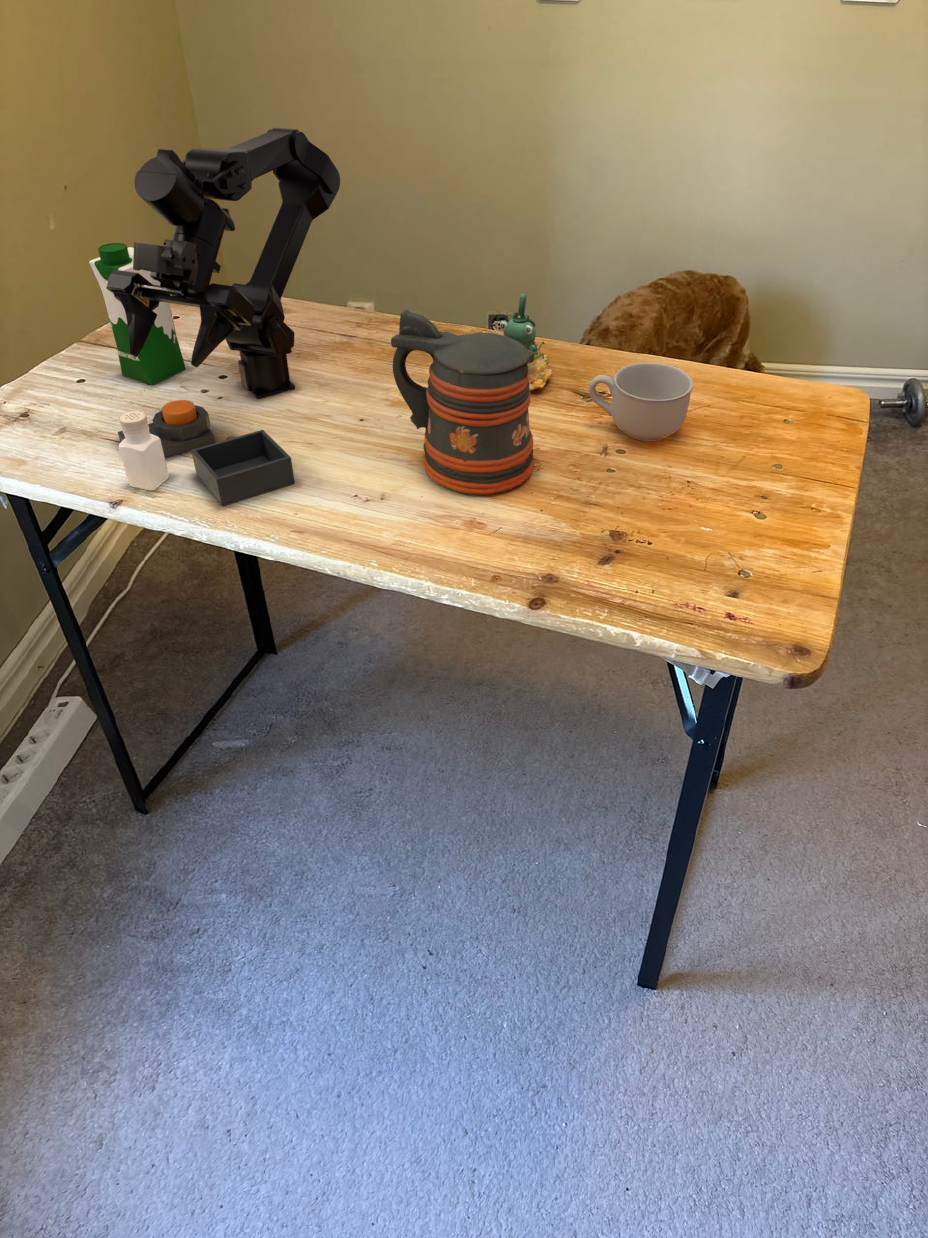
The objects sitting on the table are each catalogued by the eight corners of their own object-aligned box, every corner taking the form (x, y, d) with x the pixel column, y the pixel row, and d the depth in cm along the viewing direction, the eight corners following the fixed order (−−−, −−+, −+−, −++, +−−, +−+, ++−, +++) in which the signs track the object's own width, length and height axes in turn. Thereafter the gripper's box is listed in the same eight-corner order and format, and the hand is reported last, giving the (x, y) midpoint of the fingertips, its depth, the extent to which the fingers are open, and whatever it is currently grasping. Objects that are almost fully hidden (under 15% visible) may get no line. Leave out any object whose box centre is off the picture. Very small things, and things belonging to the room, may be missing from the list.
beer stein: (377, 483, 118) (365, 334, 105) (412, 431, 129) (406, 290, 116) (519, 504, 114) (525, 351, 101) (543, 448, 125) (551, 304, 112)
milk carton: (113, 376, 144) (78, 246, 131) (156, 356, 150) (127, 230, 137) (152, 389, 140) (120, 256, 127) (195, 368, 146) (168, 239, 133)
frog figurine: (577, 367, 145) (580, 277, 135) (516, 421, 135) (514, 329, 125) (527, 352, 149) (526, 264, 139) (464, 404, 139) (457, 314, 129)
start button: (190, 408, 128) (188, 396, 127) (201, 420, 125) (199, 408, 124) (160, 416, 126) (157, 404, 125) (170, 428, 123) (167, 417, 122)
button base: (200, 421, 132) (195, 398, 130) (220, 443, 127) (215, 420, 124) (120, 442, 127) (114, 419, 125) (138, 466, 122) (131, 443, 120)
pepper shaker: (127, 487, 118) (109, 420, 112) (146, 472, 121) (128, 406, 115) (153, 493, 117) (136, 426, 111) (171, 478, 119) (155, 411, 113)
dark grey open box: (267, 455, 124) (262, 429, 121) (295, 484, 118) (291, 457, 115) (196, 476, 120) (190, 449, 117) (222, 507, 114) (216, 479, 111)
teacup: (693, 422, 130) (702, 369, 125) (673, 456, 123) (682, 401, 118) (600, 404, 135) (605, 352, 130) (576, 436, 127) (580, 383, 122)
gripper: (95, 203, 112) (61, 324, 111) (226, 218, 106) (191, 344, 105) (148, 249, 122) (117, 360, 121) (270, 265, 117) (238, 380, 116)
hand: (163, 360), depth 116 cm, fingers open, 9 cm apart
